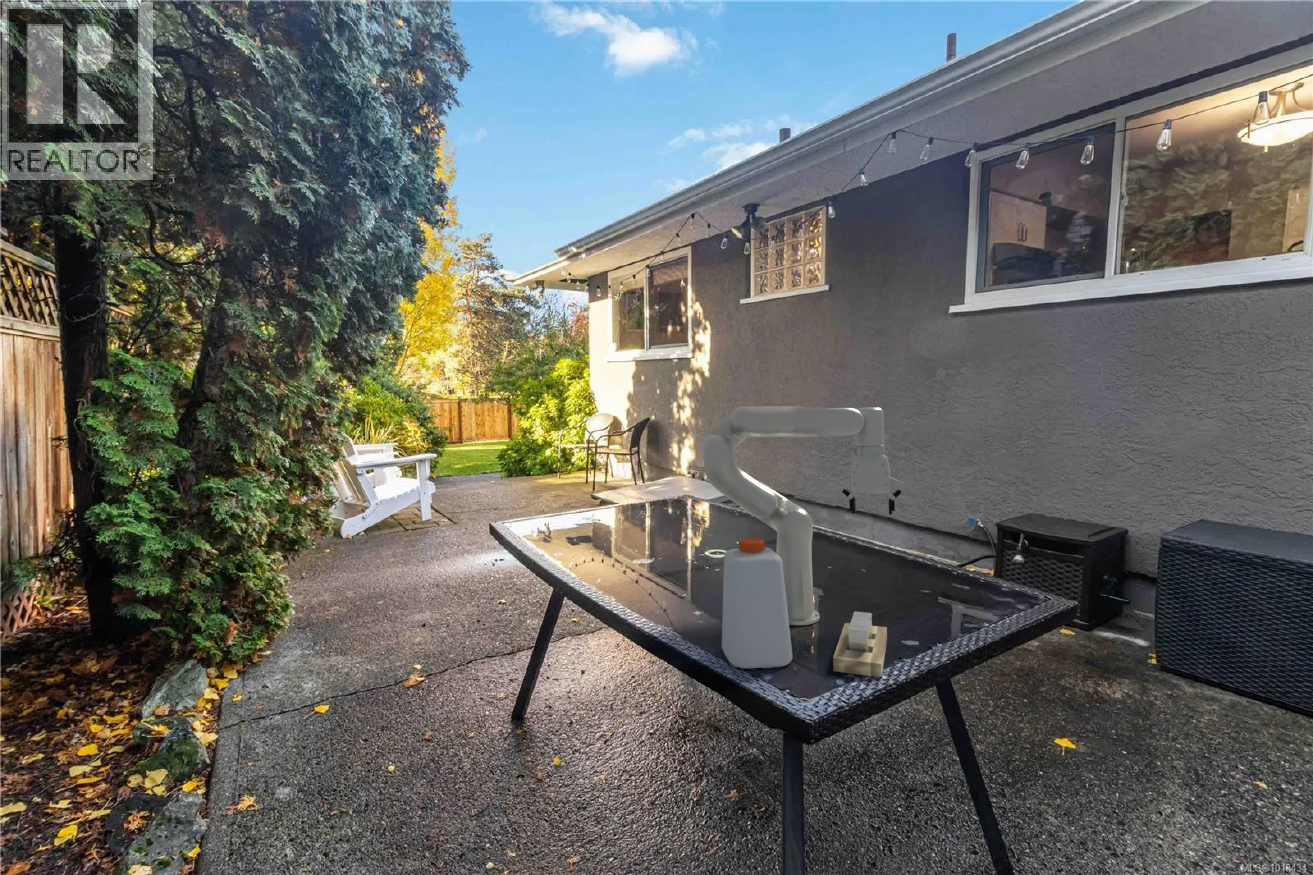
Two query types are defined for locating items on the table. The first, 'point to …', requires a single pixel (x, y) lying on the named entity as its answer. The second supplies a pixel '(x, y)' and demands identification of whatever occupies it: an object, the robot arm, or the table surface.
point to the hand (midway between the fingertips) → (872, 513)
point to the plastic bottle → (755, 607)
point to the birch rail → (861, 654)
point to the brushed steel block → (860, 631)
